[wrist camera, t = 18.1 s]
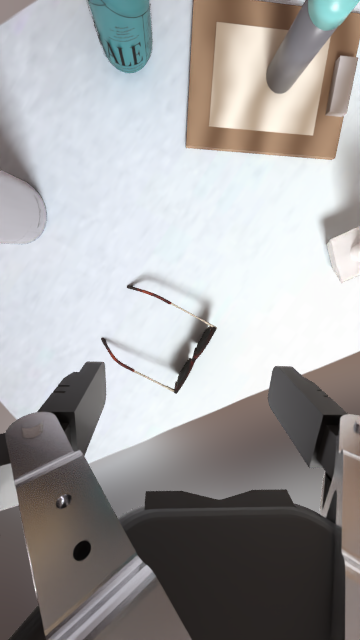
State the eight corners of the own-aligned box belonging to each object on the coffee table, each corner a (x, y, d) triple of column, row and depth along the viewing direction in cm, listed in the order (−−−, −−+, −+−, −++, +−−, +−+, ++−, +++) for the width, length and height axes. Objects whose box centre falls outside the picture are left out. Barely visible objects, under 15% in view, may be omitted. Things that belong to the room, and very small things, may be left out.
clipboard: (185, 147, 34) (187, 142, 33) (193, -1, 30) (195, -16, 28) (331, 159, 36) (339, 155, 34) (359, 19, 31) (371, 6, 30)
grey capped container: (263, 93, 32) (316, 8, 21) (267, 53, 31) (326, -60, 20) (293, 95, 33) (362, 13, 21) (299, 56, 31) (375, -54, 20)
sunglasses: (176, 380, 46) (176, 395, 41) (100, 343, 44) (90, 354, 39) (213, 320, 43) (217, 328, 38) (132, 276, 41) (126, 279, 36)
